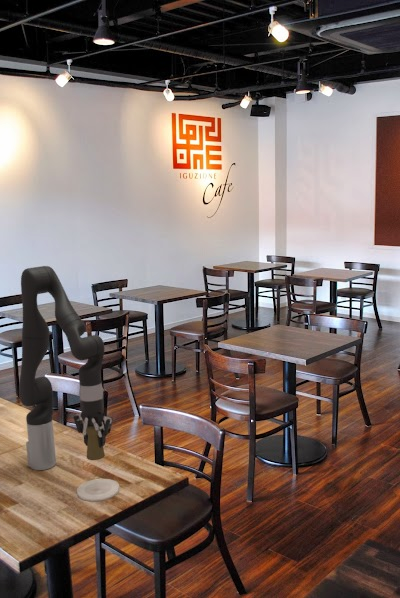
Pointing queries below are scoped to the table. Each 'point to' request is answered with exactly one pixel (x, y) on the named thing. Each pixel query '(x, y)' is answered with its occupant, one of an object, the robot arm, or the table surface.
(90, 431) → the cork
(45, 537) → the table surface
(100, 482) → the cream plate
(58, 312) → the robot arm
